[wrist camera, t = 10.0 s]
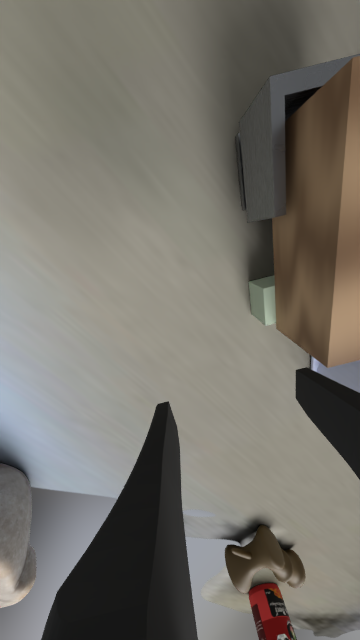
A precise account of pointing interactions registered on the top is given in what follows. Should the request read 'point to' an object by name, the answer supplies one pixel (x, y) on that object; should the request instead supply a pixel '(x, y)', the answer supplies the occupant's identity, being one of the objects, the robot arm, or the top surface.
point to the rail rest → (263, 299)
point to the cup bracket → (274, 137)
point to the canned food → (270, 613)
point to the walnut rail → (322, 224)
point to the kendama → (263, 561)
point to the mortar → (15, 536)
